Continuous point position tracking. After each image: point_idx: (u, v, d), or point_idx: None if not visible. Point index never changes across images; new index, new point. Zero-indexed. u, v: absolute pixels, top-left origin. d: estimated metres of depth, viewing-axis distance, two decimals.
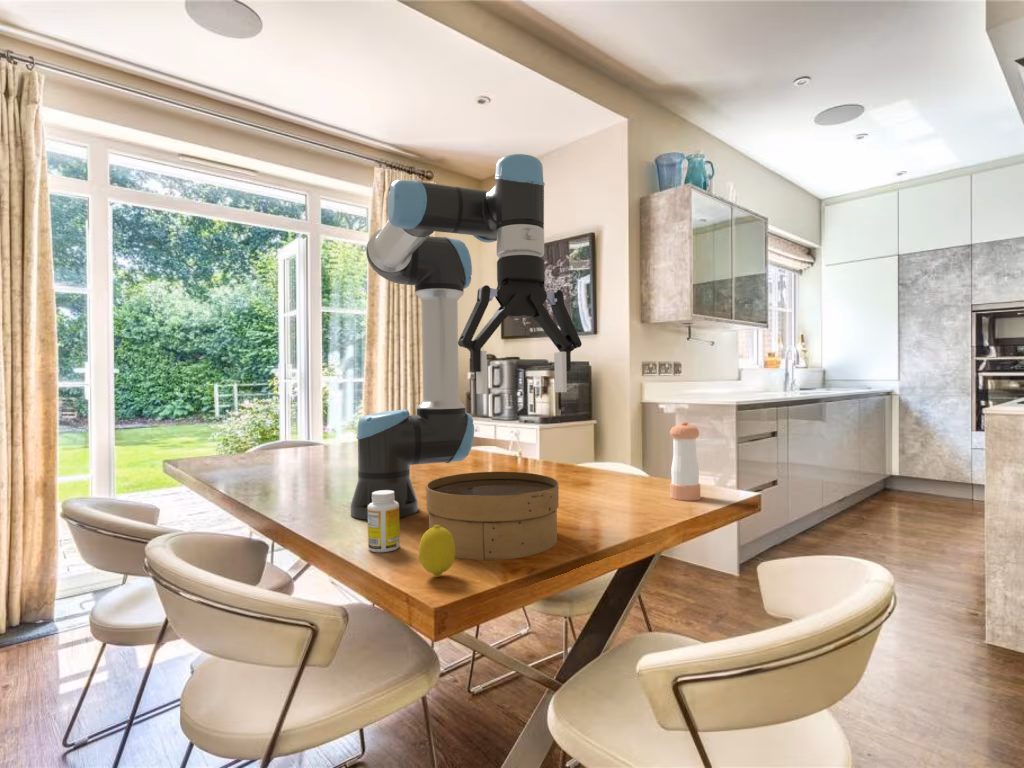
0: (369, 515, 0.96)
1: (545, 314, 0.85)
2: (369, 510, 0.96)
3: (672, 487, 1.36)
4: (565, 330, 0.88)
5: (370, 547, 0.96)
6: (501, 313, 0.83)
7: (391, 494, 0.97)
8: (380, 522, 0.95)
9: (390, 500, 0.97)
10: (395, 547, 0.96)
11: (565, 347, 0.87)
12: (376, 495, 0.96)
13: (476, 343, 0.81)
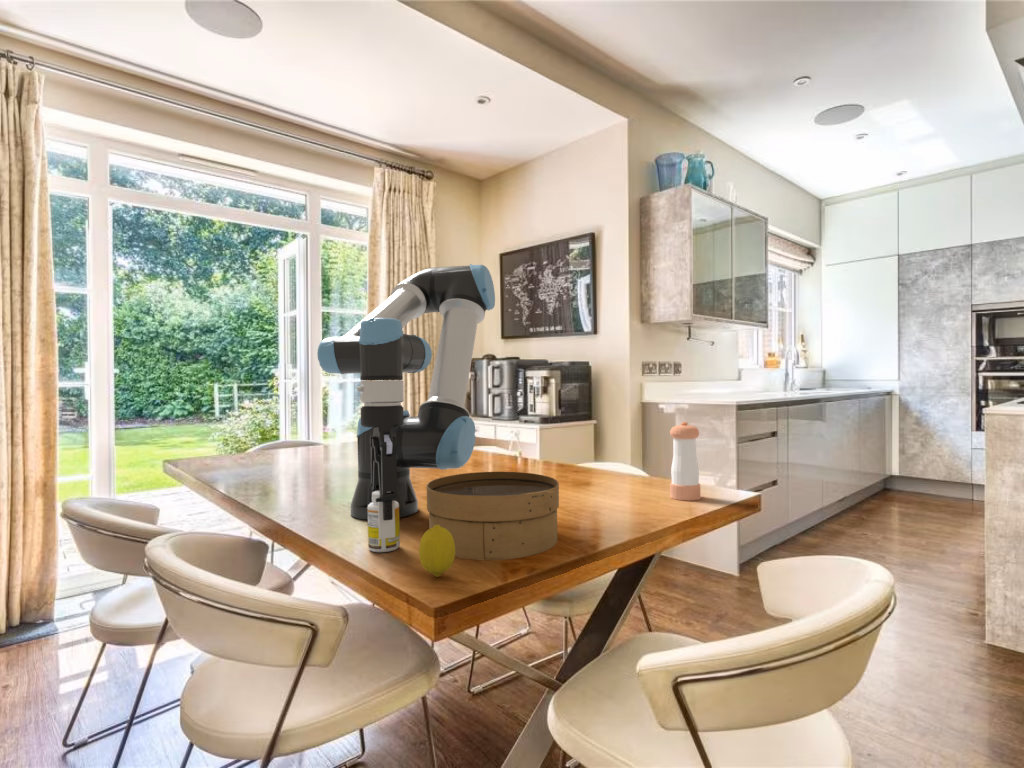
0: (369, 514, 0.96)
1: (375, 460, 0.95)
2: (369, 510, 0.96)
3: (672, 487, 1.36)
4: None
5: (370, 547, 0.96)
6: (372, 458, 1.00)
7: None
8: None
9: None
10: (395, 547, 0.96)
11: (380, 496, 0.94)
12: (376, 495, 0.96)
13: (372, 488, 1.01)
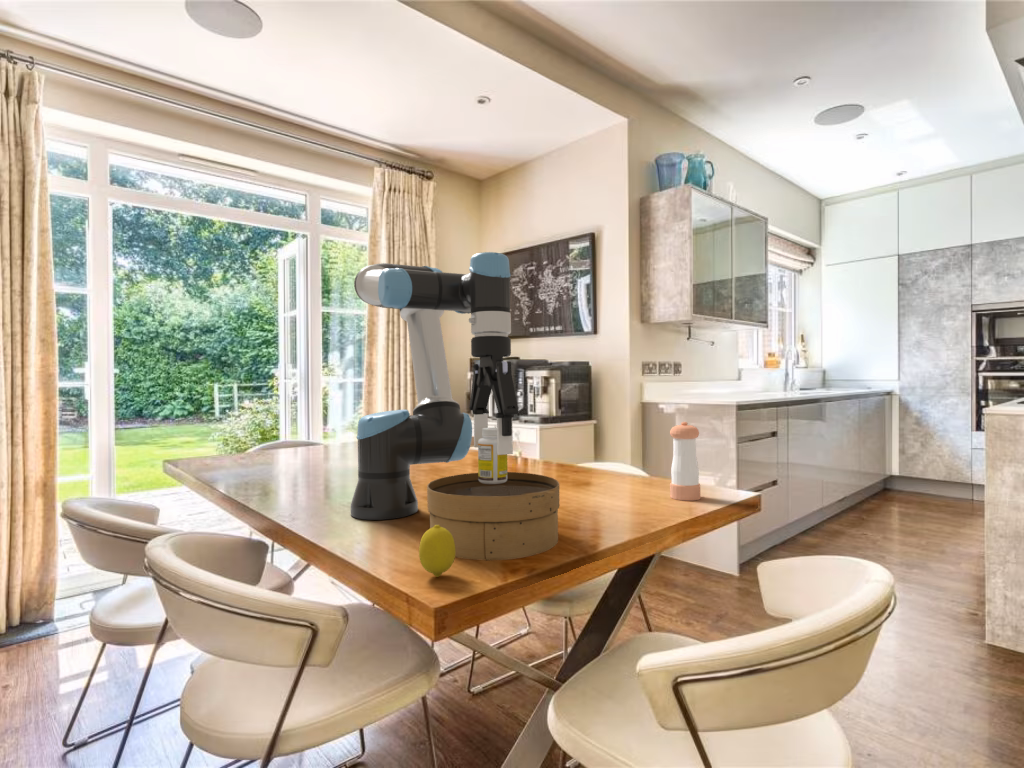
0: (481, 448, 1.01)
1: (489, 384, 0.99)
2: (481, 444, 1.01)
3: (672, 487, 1.36)
4: None
5: (482, 479, 1.01)
6: (477, 384, 1.06)
7: None
8: (492, 454, 1.00)
9: None
10: (505, 480, 1.02)
11: None
12: (488, 430, 1.01)
13: (473, 409, 1.09)
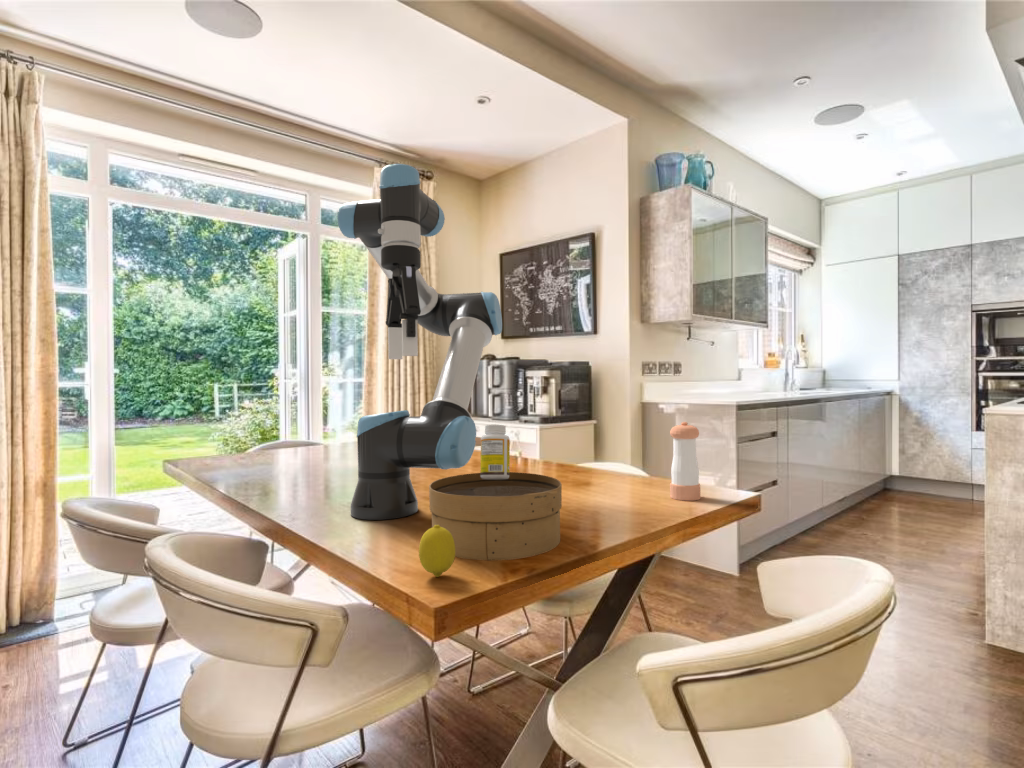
0: (492, 443, 1.02)
1: (396, 291, 1.01)
2: (492, 438, 1.02)
3: (672, 487, 1.36)
4: None
5: (492, 474, 1.01)
6: (390, 297, 1.08)
7: (505, 427, 1.05)
8: (504, 449, 1.02)
9: (505, 432, 1.05)
10: None
11: None
12: (497, 425, 1.03)
13: (388, 322, 1.12)
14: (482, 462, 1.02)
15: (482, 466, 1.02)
